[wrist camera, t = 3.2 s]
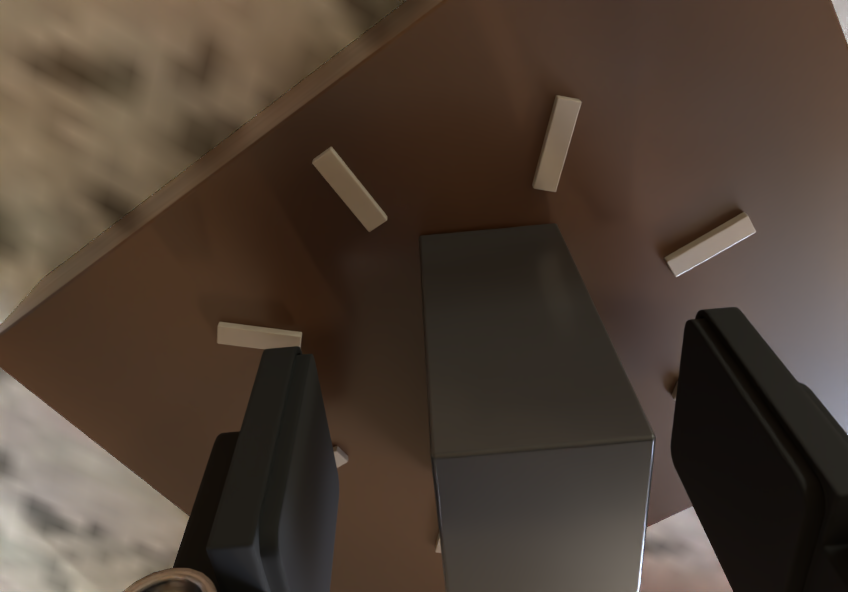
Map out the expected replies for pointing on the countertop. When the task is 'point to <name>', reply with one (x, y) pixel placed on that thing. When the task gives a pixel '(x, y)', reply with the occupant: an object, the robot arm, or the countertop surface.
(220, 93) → the countertop surface
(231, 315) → the panel
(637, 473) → the dial
